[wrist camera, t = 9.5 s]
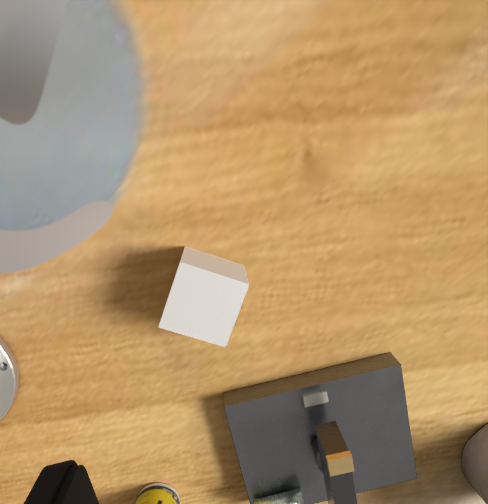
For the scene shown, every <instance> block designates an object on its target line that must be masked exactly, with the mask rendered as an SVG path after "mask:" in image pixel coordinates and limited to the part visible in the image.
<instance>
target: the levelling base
mask: <svg viewBox="0 0 488 504" xmlns="http://www.w3.org/2000/svg"><path fill="white" fill-rule="evenodd" d="M224 408H225V412H226V416H227V419H228V423H229V427H230V430H231V434H232V438H233V442H234V445H235V449H236V453H237V456H238V460H239V464H240V468H241V471H242V475H243V479H244V482H245V486H246V490H247V493H248V497H249V501H250V504H315V503H319V502H323V501H327V500H328V498H327V493H326V487H325V481H324V475H323V472H321V471H320V470H319V468H318V465H317V462H316V459H315V456H314V453H313V450H312V445H313V442H314V441H315V439H317V435H316V429H315V425H318V424H322V423H327V422H332V421H336V423H337V425H338V427H339V429H340V432H341V434H342V436H343V438H344V440H345V443H346V445H347V447H348V449H349V451H350V452H351V454H352V459H353V465H354V471H353V472H352V473H353V479H354V486H355V493H360V492H364V491H368V490H372V489H376V488H380V487H384V486H388V485H392V484H396V483H400V482H404V481H408V480H412V479H417V476H416V469H415V461H414V454H413V447H412V440H411V433H410V426H409V419H408V412H407V404H406V397H405V390H404V383H403V376H402V369H401V364H400V363H399V362H398V361H397V359H396V358H395V357H394V356H393V355H392V354H391V353H386V354H382V355H378V356H373V357H369V358H365V359H361V360H357V361H353V362H349V363H344V364H340V365H336V366H332V367H328V368H324V369H319V370H315V371H311V372H307V373H303V374H299V375H295V376H290V377H286V378H282V379H278V380H274V381H270V382H265V383H261V384H257V385H253V386H249V387H245V388H241V389H236V390H232V391H228V392H224Z"/></svg>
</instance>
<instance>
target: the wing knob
mask: <svg viewBox="0 0 488 504" xmlns="http://www.w3.org/2000/svg"><path fill="white" fill-rule="evenodd" d="M315 429H316V435H317V439H315V441H314V442H313V445H312V450H313V453H314V456H315V459H316V462H317V465H318V468H319V470H320V471H321V472H323V475H324V481H325V487H326V493H327V498H328V503H329V504H357V499H356V493H355V486H354V479H353V473H352V472H353V471H354V465H353V459H352V454H351V452H350V451H349V449H348V447H347V445H346V443H345V440H344V438H343V436H342V434H341V432H340V429H339V427H338V425H337V423H336V421H332V422H327V423H322V424H318V425H315Z"/></svg>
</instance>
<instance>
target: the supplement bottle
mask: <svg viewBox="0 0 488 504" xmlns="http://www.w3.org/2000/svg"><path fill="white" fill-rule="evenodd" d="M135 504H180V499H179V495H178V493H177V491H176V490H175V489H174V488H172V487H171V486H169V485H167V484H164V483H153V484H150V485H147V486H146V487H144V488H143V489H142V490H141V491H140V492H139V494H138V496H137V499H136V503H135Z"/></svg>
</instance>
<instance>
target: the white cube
mask: <svg viewBox="0 0 488 504" xmlns="http://www.w3.org/2000/svg"><path fill="white" fill-rule="evenodd" d="M248 287H249V281H248V278H247V274H246V270H245V267H244V265H242V264H238V263H235V262H232V261H229V260H226V259H223V258H220V257H217V256H214V255H211V254H208V253H205V252H202V251H199V250H196V249H193V248H190V247H187V246H185V248H184V251H183V254H182V257H181V260H180V263H179V266H178V269H177V272H176V275H175V278H174V281H173V284H172V287H171V290H170V293H169V296H168V299H167V302H166V305H165V308H164V311H163V314H162V317H161V320H160V324H159V328H162V329H165V330H169V331H172V332H176V333H179V334H182V335H186V336H189V337H193V338H196V339H199V340H203V341H206V342H210V343H213V344H216V345H220V346H223V347H226V345H227V343H228V340H229V337H230V335H231V332H232V329H233V327H234V324H235V321H236V319H237V316H238V313H239V311H240V308H241V305H242V303H243V300H244V297H245V295H246V292H247V289H248Z"/></svg>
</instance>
